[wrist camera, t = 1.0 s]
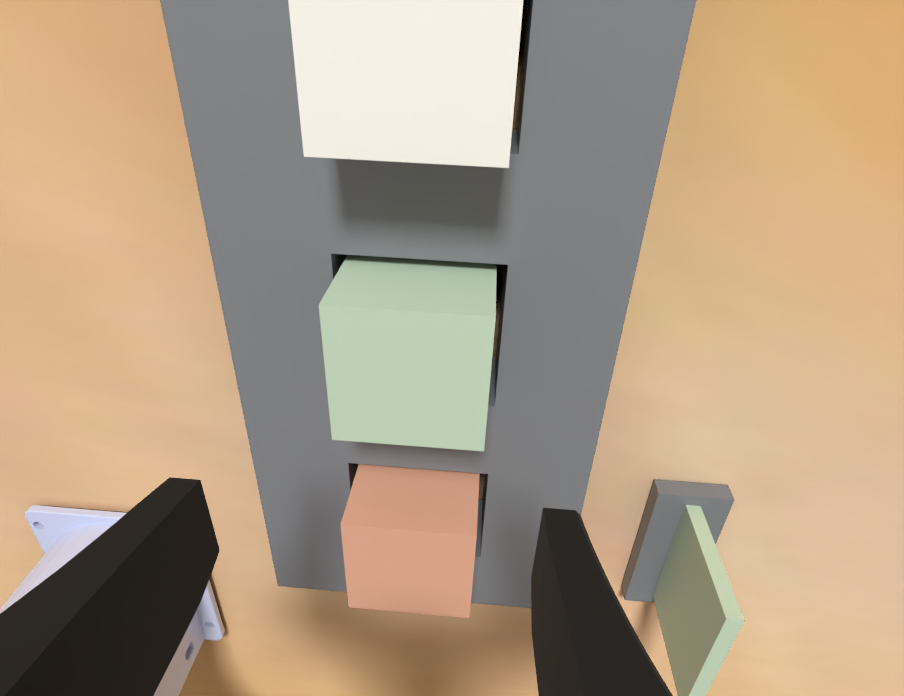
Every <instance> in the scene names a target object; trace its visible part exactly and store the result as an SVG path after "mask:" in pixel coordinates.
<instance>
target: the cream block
mask: <svg viewBox="0 0 904 696" xmlns="http://www.w3.org/2000/svg"><path fill="white" fill-rule="evenodd" d="M288 3H289V13H290V23H291V33H292V44H293V54H294V64H295V74H296V84H297V94H298V104H299V114H300V124H301V134H302V144H303V154H304V157H319V158H337V159H355V160H373V161H391V162H409V163H427V164H445V165H463V166H481V167H499V168H509V160H510V148H511V137H512V125H513V114H514V102H515V91H516V79H517V68H518V56H519V45H520V33H521V22H522V10H523V0H288Z"/></svg>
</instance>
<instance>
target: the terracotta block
mask: <svg viewBox="0 0 904 696" xmlns="http://www.w3.org/2000/svg"><path fill="white" fill-rule="evenodd" d="M479 475H480V473H470V472H457V471H445V470H432V469H419V468H406V467H394V466H381V465H368V464H359V465H358V468H357V471H356V475H355V478H354V481H353V485H352V488H351V491H350V495H349V498H348V501H347V505H346V508H345V511H344V515H343V518H342V521H341V535H342V545H343V555H344V565H345V576H346V586H347V596H348V606H349V607H351V608H362V609H373V610H384V611H396V612H407V613H418V614H429V615H440V616H452V617H463V618H470V608H471V596H472V585H473V573H474V562H475V550H476V539H477V519H478V497H479Z"/></svg>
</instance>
